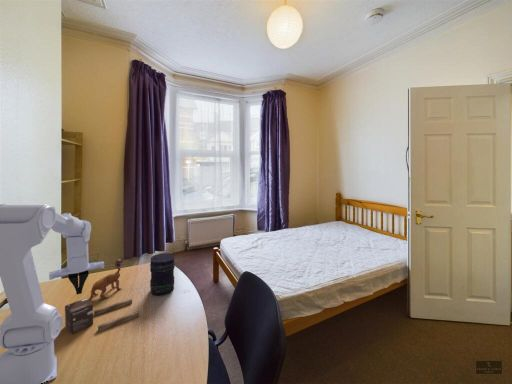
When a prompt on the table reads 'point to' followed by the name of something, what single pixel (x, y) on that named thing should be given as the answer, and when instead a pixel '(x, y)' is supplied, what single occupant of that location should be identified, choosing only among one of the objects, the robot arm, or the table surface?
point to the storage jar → (162, 274)
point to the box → (78, 315)
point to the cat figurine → (107, 281)
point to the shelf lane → (119, 320)
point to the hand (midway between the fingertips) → (79, 292)
